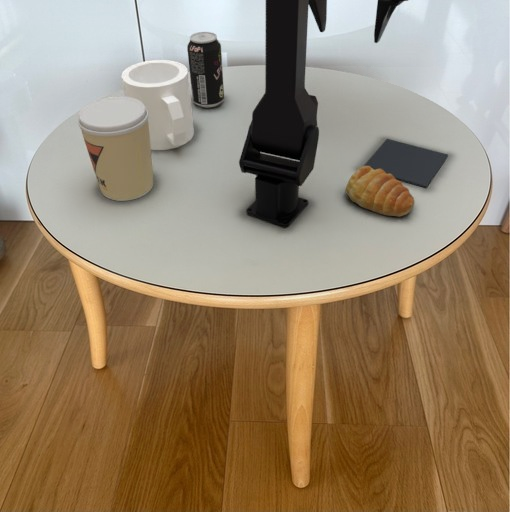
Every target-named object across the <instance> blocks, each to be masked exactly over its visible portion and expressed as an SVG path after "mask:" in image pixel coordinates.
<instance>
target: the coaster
mask: <svg viewBox="0 0 510 512" xmlns="http://www.w3.org/2000/svg"><path fill="white" fill-rule="evenodd" d="M448 157H449V154H447V153H443V152H440V151H436V150H432V149H428V148H424V147H421V146H417V145H413V144H410V143H406V142H401V141H397V140H395V139H394V140H393V139H390V138H386V139H385V140H384V142H383V143H382V144H381V145H380V146H379V147H378V148H377V150H376V151H375V152H374V153H373V154H372V155H371V156H370V158H369V159H368V160H367V161H366V162H365V164H364V165H363V166H370V167H371V168H372V169H374V170H376V169H383V170H384V171H385V172H386V174H392V175H393V176H394V177H395V178H396V180H398V181H401V182H403V183H408V184H411V185H415V186H418V187H421V188H425V189H427V188H428V187H429V185H430V183H431V182H432V180H433V179H434V178H435V176H436V174H437V173H438V172H439V170H440V168H442V166H443V164H444V163H445V161H446V160H447V158H448Z"/></svg>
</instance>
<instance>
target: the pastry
mask: <svg viewBox="0 0 510 512" xmlns="http://www.w3.org/2000/svg"><path fill="white" fill-rule="evenodd" d="M348 179H349V180H348V181H347V184H346V186H345V188H344V189H345V193H346V194H347V196H348V197H349V198H350V200H351V202H353V203H356V204H357V205H359V207H361V208H364V209H366V210H370V211H372V212H373V213H378V214H379V215H383V216H388V217H392V216H393V217H402V216H405V215H407V214H408V213H410V212H411V211H412V210H413V209H412V208H413V207H414V205H415V204H416V201H415V198H414V196H413V195H412V194H411V192H410V189H409V188H408V187H406V186H404V185H403V183H402V182H403V181H400V180H397V179H396V178H395V177H394V176H393V175H392V174H386V172H385V171H384V170H383V169H376V170H374V169H372V168H371V167H370V166H364V165H362V166H361V167H359V168H356V171H355V172H354V173H353V174H352V175H351V176H350V178H348Z"/></svg>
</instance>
